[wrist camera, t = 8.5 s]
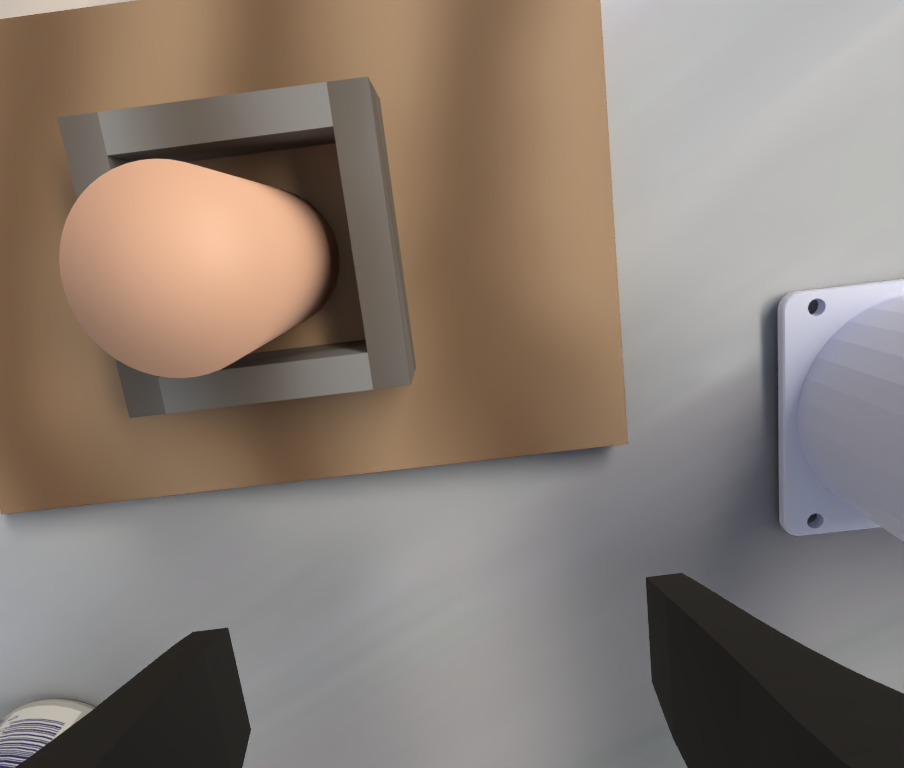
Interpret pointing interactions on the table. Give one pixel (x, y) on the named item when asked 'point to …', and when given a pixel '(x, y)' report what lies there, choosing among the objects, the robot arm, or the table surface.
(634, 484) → the table surface
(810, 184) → the table surface
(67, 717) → the energy drink
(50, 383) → the socket base
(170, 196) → the peg
